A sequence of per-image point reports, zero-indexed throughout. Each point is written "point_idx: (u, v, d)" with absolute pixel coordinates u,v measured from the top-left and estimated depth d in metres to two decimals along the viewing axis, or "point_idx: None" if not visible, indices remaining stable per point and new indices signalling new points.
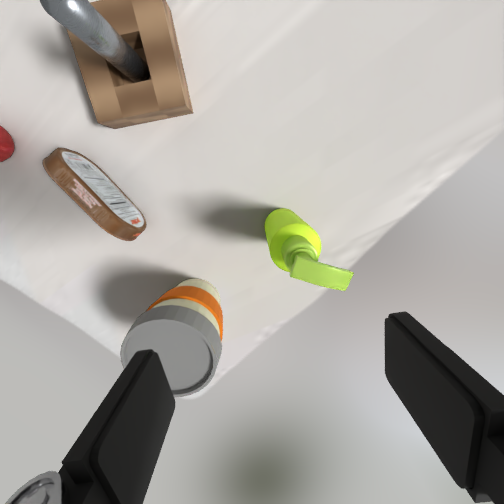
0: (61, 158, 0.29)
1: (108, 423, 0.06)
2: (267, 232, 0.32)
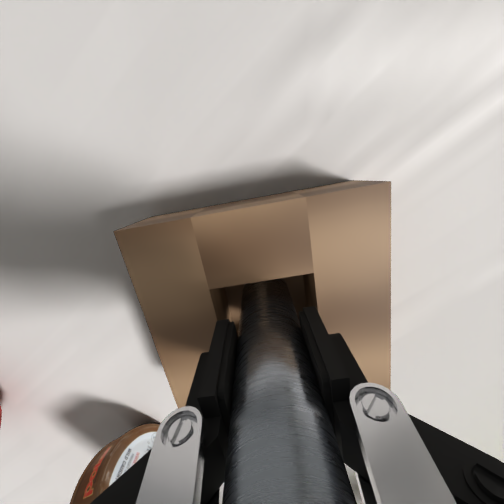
0: None
1: (221, 372, 0.07)
2: None
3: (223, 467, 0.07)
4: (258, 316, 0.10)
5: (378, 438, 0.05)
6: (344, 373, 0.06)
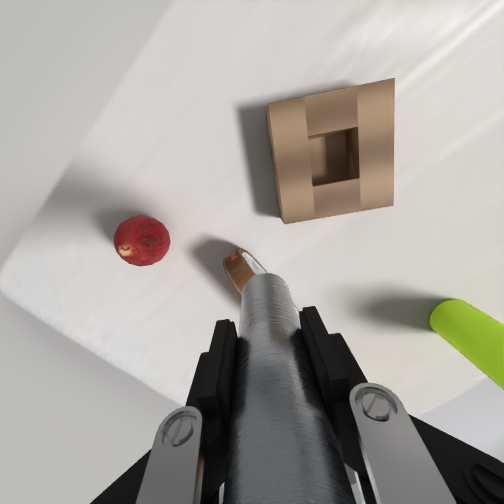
0: (254, 274, 0.24)
1: (221, 372, 0.07)
2: (477, 348, 0.27)
3: (223, 467, 0.07)
4: (258, 317, 0.10)
5: (378, 438, 0.05)
6: (343, 373, 0.06)
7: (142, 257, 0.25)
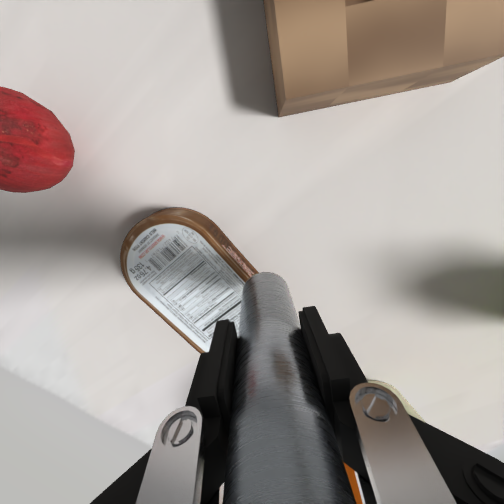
0: (126, 279, 0.18)
1: (221, 372, 0.07)
2: None
3: (223, 467, 0.07)
4: (258, 316, 0.10)
5: (378, 438, 0.05)
6: (344, 373, 0.06)
7: None
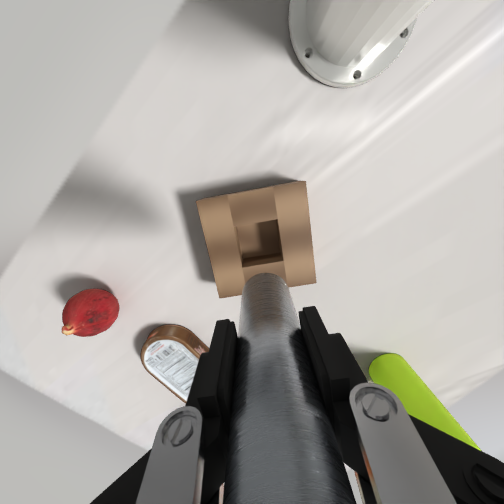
0: (143, 365, 0.34)
1: (221, 372, 0.07)
2: None
3: (223, 467, 0.07)
4: (258, 317, 0.10)
5: (378, 438, 0.05)
6: (343, 373, 0.06)
7: (87, 332, 0.27)
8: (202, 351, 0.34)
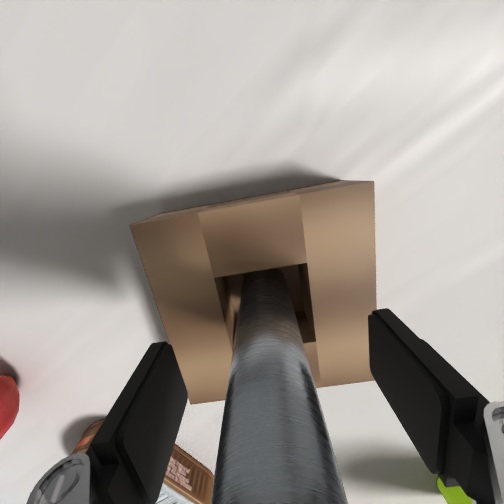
0: None
1: (130, 409, 0.07)
2: None
3: None
4: (255, 298, 0.11)
5: None
6: (468, 390, 0.05)
7: None
8: (170, 463, 0.21)
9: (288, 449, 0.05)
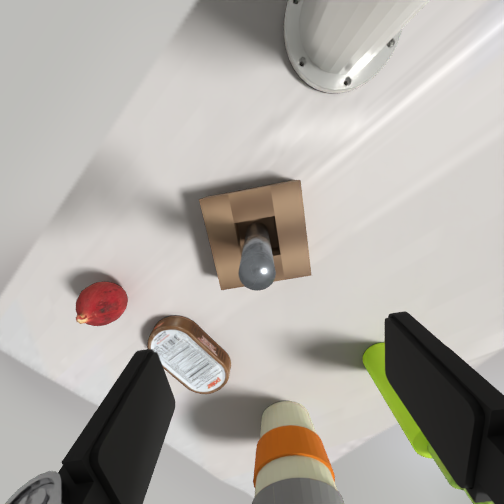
0: None
1: (108, 423, 0.06)
2: (387, 393, 0.32)
3: None
4: (252, 230, 0.27)
5: None
6: None
7: (99, 321, 0.30)
8: (205, 341, 0.36)
9: (259, 246, 0.21)
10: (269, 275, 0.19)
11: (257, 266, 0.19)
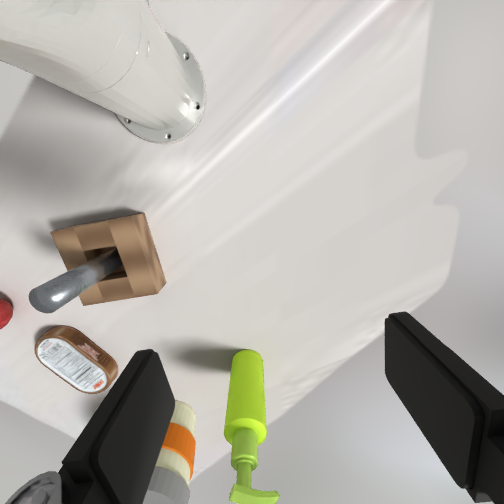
0: (38, 359, 0.41)
1: (108, 423, 0.06)
2: (228, 394, 0.37)
3: None
4: (94, 258, 0.33)
5: None
6: None
7: None
8: (87, 347, 0.42)
9: (61, 277, 0.26)
10: (54, 302, 0.24)
11: (42, 295, 0.24)
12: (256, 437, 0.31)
